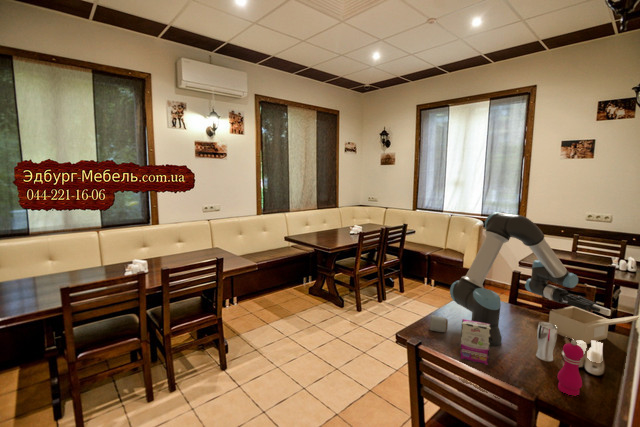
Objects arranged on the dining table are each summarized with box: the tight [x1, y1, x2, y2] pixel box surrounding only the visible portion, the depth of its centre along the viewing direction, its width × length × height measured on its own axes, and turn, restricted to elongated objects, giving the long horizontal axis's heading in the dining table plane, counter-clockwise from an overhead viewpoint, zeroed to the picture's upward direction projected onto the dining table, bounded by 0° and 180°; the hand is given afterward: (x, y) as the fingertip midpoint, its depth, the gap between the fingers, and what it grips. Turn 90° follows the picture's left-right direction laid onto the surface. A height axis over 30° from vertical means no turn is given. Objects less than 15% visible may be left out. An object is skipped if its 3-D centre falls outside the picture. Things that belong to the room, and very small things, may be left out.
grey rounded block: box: [429, 314, 449, 333], centre depth 160 cm, size 11×8×8 cm
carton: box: [548, 305, 609, 345], centre depth 156 cm, size 18×16×10 cm
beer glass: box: [535, 321, 558, 363], centre depth 135 cm, size 7×7×15 cm
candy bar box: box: [459, 318, 491, 366], centre depth 134 cm, size 11×5×16 cm, turn 64°
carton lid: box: [586, 315, 639, 327], centre depth 141 cm, size 18×16×1 cm
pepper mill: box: [557, 340, 585, 396], centre depth 114 cm, size 7×7×20 cm
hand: (609, 312), depth 144 cm, fingers closed
